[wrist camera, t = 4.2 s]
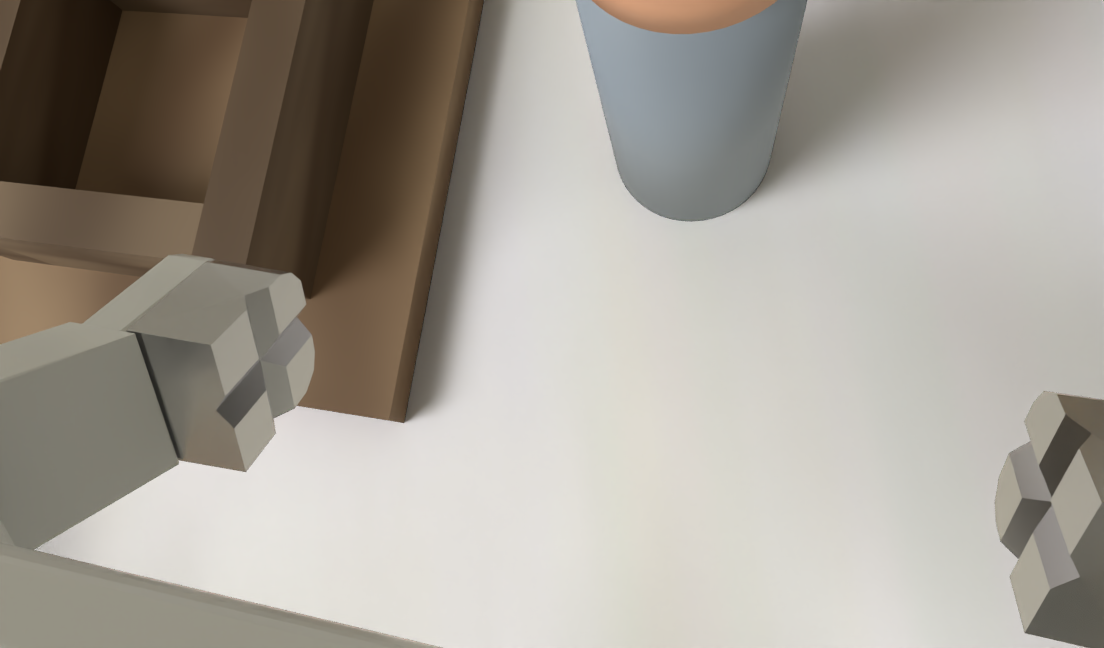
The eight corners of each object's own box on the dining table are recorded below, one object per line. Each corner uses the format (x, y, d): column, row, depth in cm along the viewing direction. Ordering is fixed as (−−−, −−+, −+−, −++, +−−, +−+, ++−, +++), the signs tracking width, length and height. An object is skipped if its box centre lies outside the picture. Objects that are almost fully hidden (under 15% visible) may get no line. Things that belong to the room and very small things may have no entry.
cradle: (498, -80, 26) (456, -199, 21) (404, 423, 23) (333, 408, 19) (65, -94, 29) (-52, -201, 24) (-60, 348, 26) (-216, 321, 22)
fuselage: (779, 81, 23) (851, -253, 13) (761, 229, 23) (820, 7, 12) (626, 71, 24) (573, -250, 14) (605, 213, 23) (530, -8, 13)
